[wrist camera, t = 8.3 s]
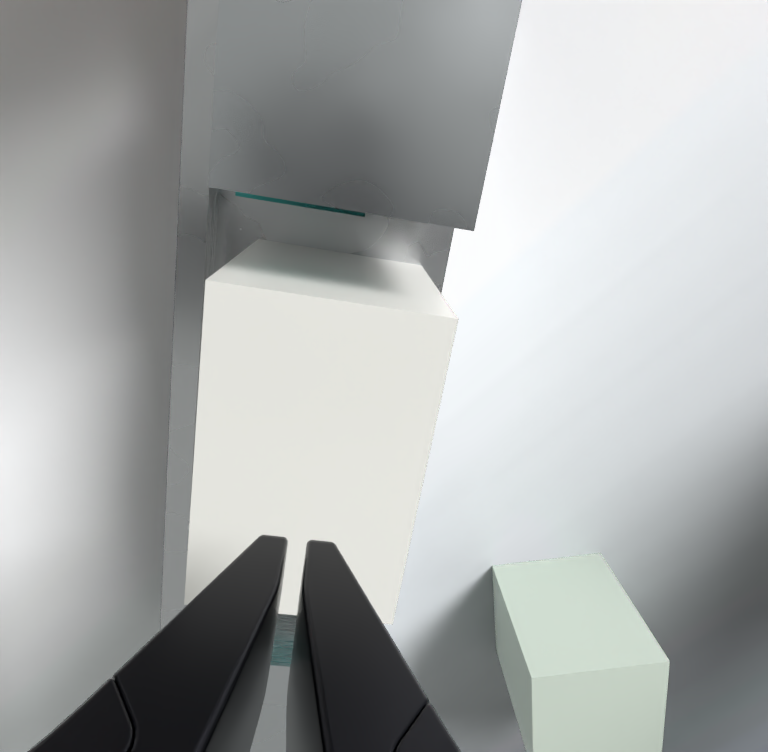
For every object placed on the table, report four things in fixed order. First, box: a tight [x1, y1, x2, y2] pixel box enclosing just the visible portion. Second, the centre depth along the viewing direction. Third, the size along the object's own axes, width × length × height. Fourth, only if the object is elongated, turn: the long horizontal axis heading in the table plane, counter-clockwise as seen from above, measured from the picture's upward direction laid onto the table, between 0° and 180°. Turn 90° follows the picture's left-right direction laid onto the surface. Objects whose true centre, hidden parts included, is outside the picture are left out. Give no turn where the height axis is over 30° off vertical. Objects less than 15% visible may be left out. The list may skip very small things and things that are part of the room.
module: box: [184, 239, 458, 625], centre depth 14 cm, size 4×7×6 cm, turn 171°
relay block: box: [492, 553, 670, 752], centre depth 20 cm, size 4×4×5 cm
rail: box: [160, 0, 522, 752], centre depth 15 cm, size 7×21×7 cm, turn 171°
